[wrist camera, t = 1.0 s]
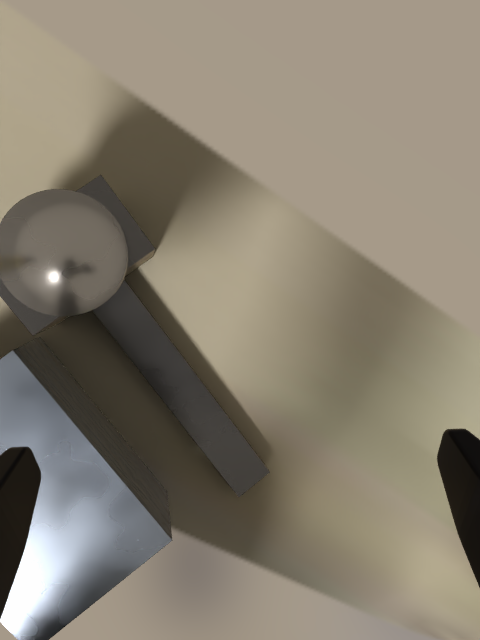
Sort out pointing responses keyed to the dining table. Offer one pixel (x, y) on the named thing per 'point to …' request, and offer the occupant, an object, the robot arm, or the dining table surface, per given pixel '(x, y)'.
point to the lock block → (73, 496)
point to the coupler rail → (110, 305)
